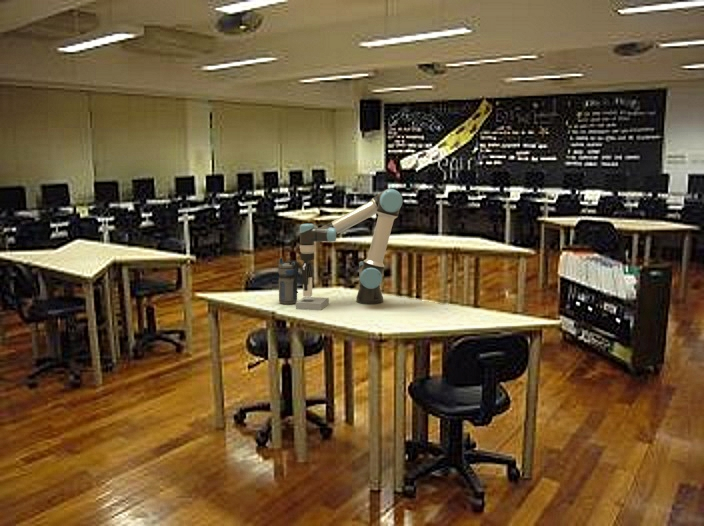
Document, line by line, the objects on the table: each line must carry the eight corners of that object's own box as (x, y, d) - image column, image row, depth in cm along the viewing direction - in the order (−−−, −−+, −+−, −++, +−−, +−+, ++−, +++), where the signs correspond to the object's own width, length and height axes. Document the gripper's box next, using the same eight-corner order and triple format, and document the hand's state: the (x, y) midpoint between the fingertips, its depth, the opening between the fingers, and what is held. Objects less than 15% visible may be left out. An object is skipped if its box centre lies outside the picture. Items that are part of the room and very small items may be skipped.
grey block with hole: (328, 303, 346) (328, 297, 345) (320, 310, 330) (320, 303, 330) (304, 302, 349) (304, 296, 348) (295, 308, 333) (295, 302, 333)
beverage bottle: (293, 306, 341) (292, 260, 337) (274, 303, 348) (273, 259, 344) (304, 302, 349) (303, 258, 346) (285, 300, 356) (284, 257, 353)
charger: (312, 295, 339) (312, 276, 337) (310, 296, 335) (309, 278, 333) (305, 295, 340) (305, 276, 338) (303, 296, 336) (302, 277, 334)
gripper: (305, 250, 343) (305, 292, 346) (295, 254, 326) (296, 298, 330) (318, 250, 341) (318, 292, 345) (309, 254, 325) (309, 298, 328)
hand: (307, 295), depth 337 cm, fingers closed on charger, 4 cm apart
